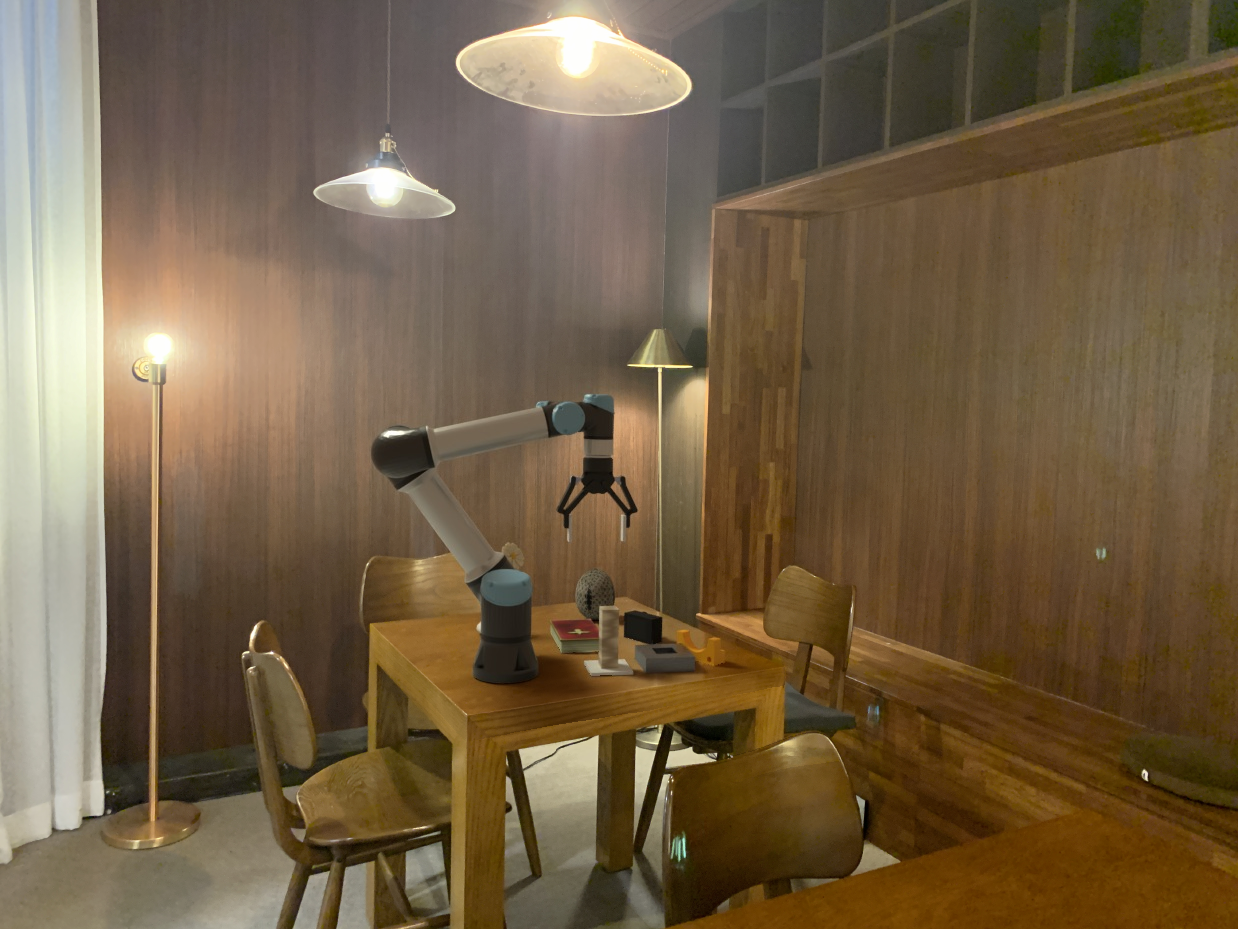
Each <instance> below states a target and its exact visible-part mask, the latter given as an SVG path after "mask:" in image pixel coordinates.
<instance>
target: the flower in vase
mask: <svg viewBox="0 0 1238 929" xmlns="http://www.w3.org/2000/svg"><path fill="white" fill-rule="evenodd" d="M518 547H519V546H518V545H517V543H516V544H515V543H514V542H511V543H510V541H509V542H508V541H507V543H505V545H504V546H502V547H501V552H502V553H504V555H505V556H506V557H507V559H508V560H509V561H510V563H511V564H512V566H513V567H514V568H515V569H516V570H518V571H520V570H519V569H520V567H521V568H522V567H523V565H524V564H525V562H524V561H525V560H526V558H525V557H524V553H523V552H522V549H521V548H518ZM476 632H478V633H479V634H481V621H480V622H478V624H477V625H476Z"/></svg>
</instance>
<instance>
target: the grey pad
mask: <svg viewBox="0 0 1238 929" xmlns="http://www.w3.org/2000/svg"><path fill="white" fill-rule="evenodd" d="M583 664H584V666H586V667H585V668H586V671H587V672H588V673H590V674H589V676H590V675H591V676H590V677H601V676H600V675H612V676H625V675H626V676H633V675H634V671H633V669H632V667H631V666H630V665H629V663H628V662H627V661H626V659H625V658H621V659H620V658H618V668H605V669H601V667H600V666H599V664H598V659H593V660H584V661H583Z"/></svg>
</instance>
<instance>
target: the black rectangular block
mask: <svg viewBox="0 0 1238 929" xmlns="http://www.w3.org/2000/svg"><path fill="white" fill-rule="evenodd" d="M623 615H624V616H623V638H625V639H628V638H629V639H628V640H632V639H633V640H632V641H635V640H636V641H635V642H640V643H643V644H645V645H647V644H656V643H657V644H661V643H662V642H663V616H660V615H657V614H656V615H655V614H652V613H648V612H646V611H639V610H637V609H635V610H634V609H633V610H630V611H626V612H624V613H623ZM660 642H661V643H660Z"/></svg>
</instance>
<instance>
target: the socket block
mask: <svg viewBox="0 0 1238 929" xmlns="http://www.w3.org/2000/svg"><path fill="white" fill-rule="evenodd" d="M634 660H635V662H637V664H638V665H639V666H640V668H641V669H642V670H643V672H645V674H658V673H659V674H660V673H662V674H663V673H682V672H684V673H685V672H696V661H695V656H694V655H693V654H692V653H691V652H690V651H689V650H688V649H687V648H686V647H685V646H684V645H683V644H682V643H677V642H676V643H657V644H634Z"/></svg>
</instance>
